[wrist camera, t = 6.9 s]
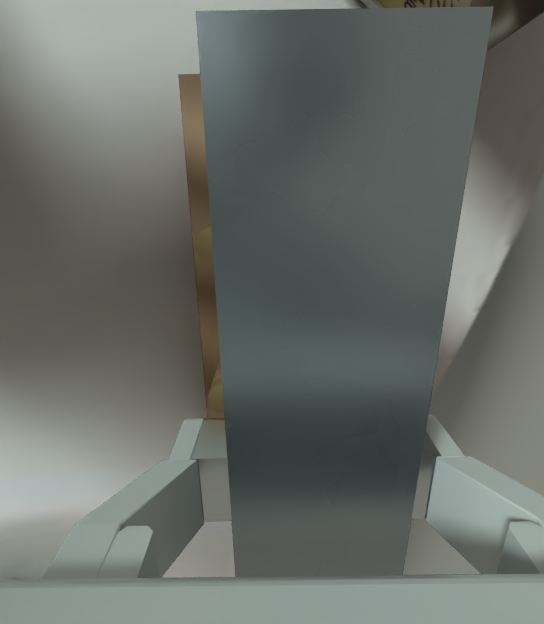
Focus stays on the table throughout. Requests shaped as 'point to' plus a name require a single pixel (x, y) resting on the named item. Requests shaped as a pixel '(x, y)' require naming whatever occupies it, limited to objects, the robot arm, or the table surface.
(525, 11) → the coffee box
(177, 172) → the table surface
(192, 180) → the peg board
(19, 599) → the robot arm
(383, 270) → the grey bar
